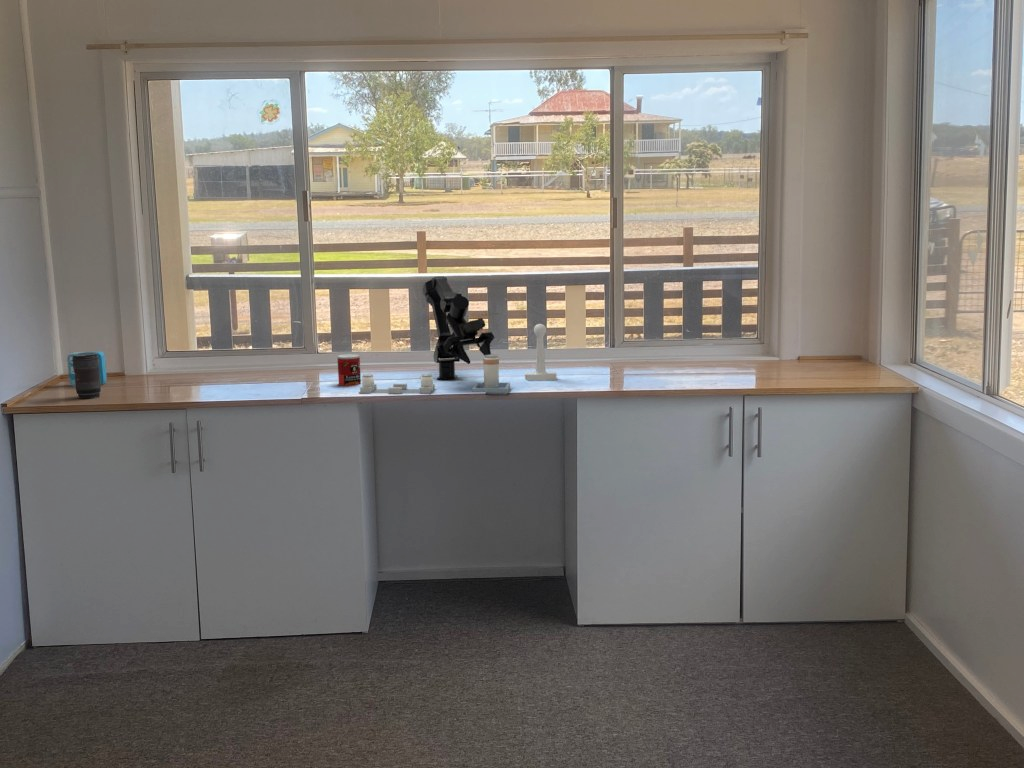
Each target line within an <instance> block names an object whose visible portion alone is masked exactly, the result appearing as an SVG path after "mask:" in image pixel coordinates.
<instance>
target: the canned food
mask: <svg viewBox="0 0 1024 768" xmlns="http://www.w3.org/2000/svg"><path fill="white" fill-rule="evenodd" d="M337 374H338V375H337V376H338V385H339V386H341V387H343V386H344V387H352V386H353V387H354V386H359V385H362V374H361V357H360V354H353V353H348V354H347V353H346V354H345V353H344V354H340V355H337Z"/></svg>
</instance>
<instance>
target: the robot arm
mask: <svg viewBox="0 0 1024 768" xmlns="http://www.w3.org/2000/svg"><path fill="white" fill-rule="evenodd" d="M422 293H423V296H425V297H424V298H425V300H426V302H427V304H429V305H430V306H431V307H432V308H431V309H432V313H433V317H434V322H435V327H436V332H437V336H438V338H437V341H436V345H435V348H434V353H433V362H434V363H435V364H438V374H439V376H437V377H436V379H446V380H456V379H457V377H458V375H456V369H455V368H456V367H455V363H456V362H459V363H460V360H461V361H463V362H465V363H466V364H468V365H469V364H471V360H470V357H469V356H468V353H467V352H466V350H465V349H464V346H471V345H476V346H477V347H478V348H479V349H478V350H479V351H480V353H481V354H482V355H483V356H484V355H489V354H492V352H491V343H492V342H493V341H494V339H495V336H494V334H493V332H491V331H485V332H481V334H480V335H479V336H478V334H479V333H478V332H479V331H481V330H483V329H484V328H485V327H486V322H485V320H484V319H483V318H481V317H479V318H477V319H473V320H469V321H468V322H467V320H466V318H465V317H466V316H467V312H468V309H469V306H470V301H469V299H468V298H467V297H465V296H463V295H462V293H457V292H454V291H453V290H452V288H451V286H450V284H449V282H448V279H447V277H446V276H444V275H443V276H434V277H432V278H431V279H430V280H428V281H425V283H424V285H423V286H422ZM451 330H452V333H451ZM476 336H478V337H476ZM455 378H456V379H455Z"/></svg>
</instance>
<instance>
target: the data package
mask: <svg viewBox="0 0 1024 768" xmlns="http://www.w3.org/2000/svg"><path fill="white" fill-rule="evenodd" d="M86 352H87V351H78V352H75V351H74V352H72V353H70V354H68V355H67V357H66V360H67V361H66V362H67V371H68V379H69V380H68V381H69V382H68V383H69V385H70V386H72V387H74V386H75V373H74V369H73V360H72V358H73V355H74V354H78V353H86ZM94 352H95V353H97V356H98V360H99V376H100V384H101V386H102V385H103V384H104V385H105V383H106V382H107V380H108V378H107V367H106V357H105V353H104V352H103V351H100V350H99V351H94Z"/></svg>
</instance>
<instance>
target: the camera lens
mask: <svg viewBox="0 0 1024 768" xmlns="http://www.w3.org/2000/svg"><path fill="white" fill-rule="evenodd" d="M85 352H86V353H78V354H74V355H73V358H72V360H73V369H74V373H75V386H76V387H75V390H76V394H77V396H78V397H79V398H78V399H80V398H91V399H96V398H95V397H97V398H100V397H99V396H100V395H101V387H102V385H101V384H100V376H99V360H98V356H97V353H95V352H96V351H85Z"/></svg>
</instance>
